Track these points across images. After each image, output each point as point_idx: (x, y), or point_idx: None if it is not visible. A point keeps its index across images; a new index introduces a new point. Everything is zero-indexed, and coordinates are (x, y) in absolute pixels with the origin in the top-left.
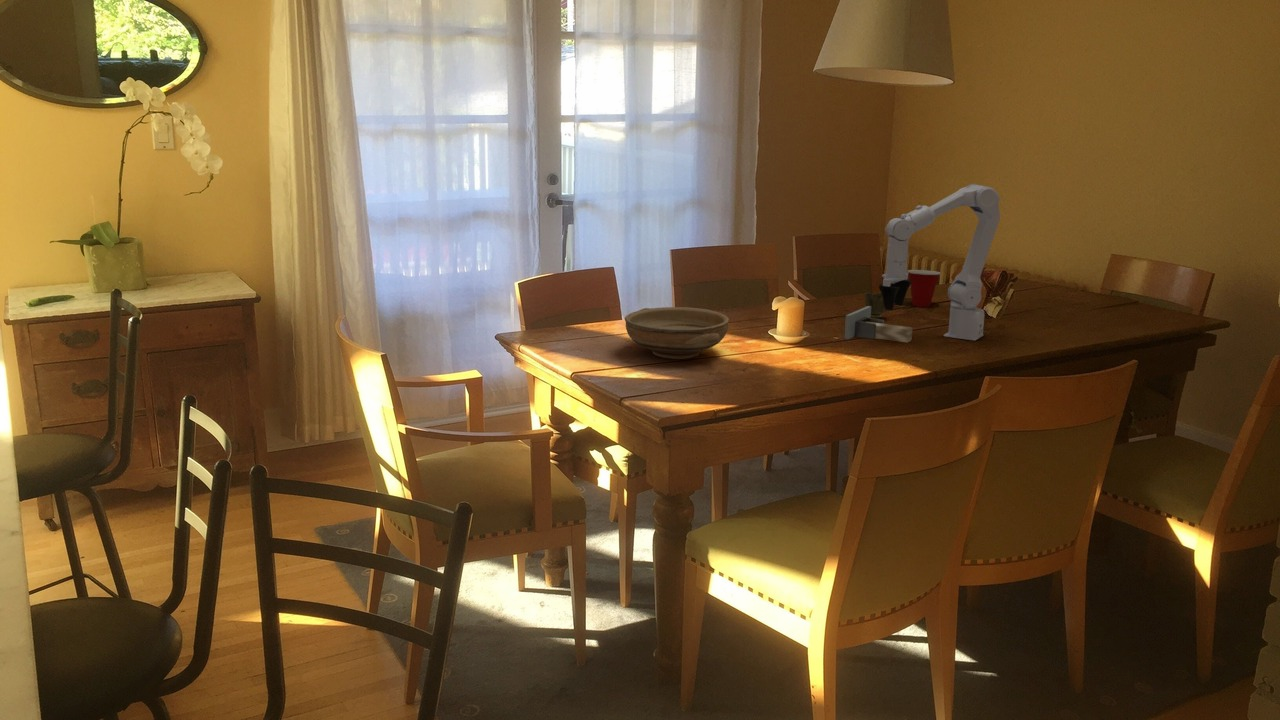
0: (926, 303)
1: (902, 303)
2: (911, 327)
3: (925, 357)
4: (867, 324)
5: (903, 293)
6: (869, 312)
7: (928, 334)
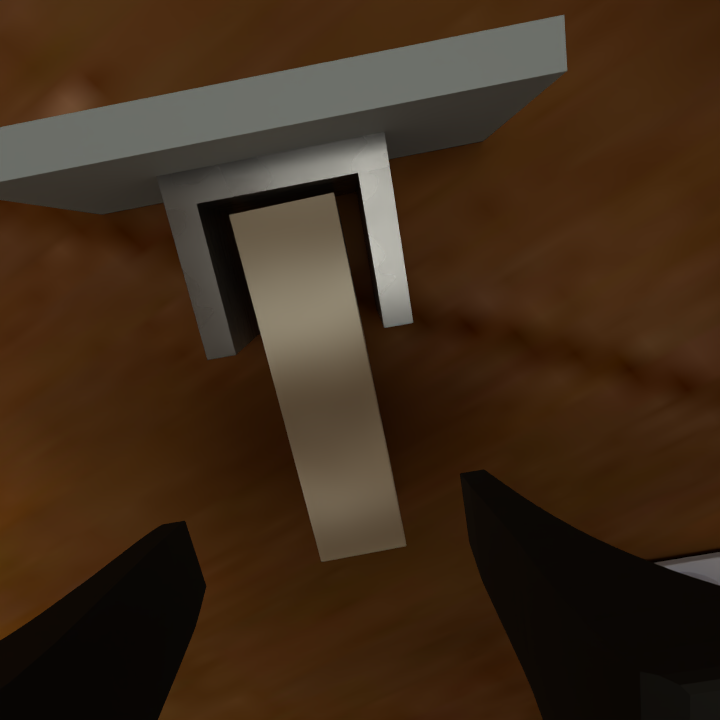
0: None
1: (478, 566)
2: (404, 539)
3: None
4: (194, 296)
5: (536, 681)
6: (497, 102)
7: (592, 490)
